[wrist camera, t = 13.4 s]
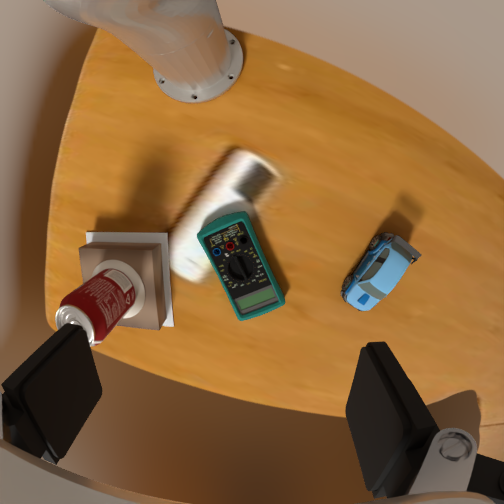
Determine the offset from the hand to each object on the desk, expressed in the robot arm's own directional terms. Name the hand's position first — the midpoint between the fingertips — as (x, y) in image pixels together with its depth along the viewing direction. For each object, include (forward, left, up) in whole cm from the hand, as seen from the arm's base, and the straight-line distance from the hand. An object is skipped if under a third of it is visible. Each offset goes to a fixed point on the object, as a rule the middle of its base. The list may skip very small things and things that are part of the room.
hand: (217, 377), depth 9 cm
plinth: (+10, -19, -33) cm, 39 cm away
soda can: (+10, -19, -29) cm, 36 cm away
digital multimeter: (+7, -1, -34) cm, 35 cm away
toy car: (+7, +18, -34) cm, 39 cm away
